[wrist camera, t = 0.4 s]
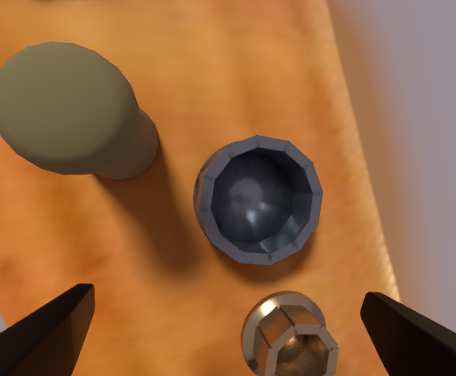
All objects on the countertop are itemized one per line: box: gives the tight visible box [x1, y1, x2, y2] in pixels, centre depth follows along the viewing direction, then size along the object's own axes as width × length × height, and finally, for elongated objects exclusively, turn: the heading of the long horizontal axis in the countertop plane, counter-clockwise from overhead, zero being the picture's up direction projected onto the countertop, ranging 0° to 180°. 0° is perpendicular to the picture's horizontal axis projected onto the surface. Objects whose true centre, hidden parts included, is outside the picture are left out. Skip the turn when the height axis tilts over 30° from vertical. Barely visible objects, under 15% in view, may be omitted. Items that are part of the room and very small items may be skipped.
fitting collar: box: [193, 135, 323, 265], centre depth 20 cm, size 10×10×4 cm
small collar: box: [241, 291, 339, 376], centre depth 22 cm, size 8×8×4 cm
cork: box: [0, 42, 159, 180], centre depth 14 cm, size 6×6×11 cm
